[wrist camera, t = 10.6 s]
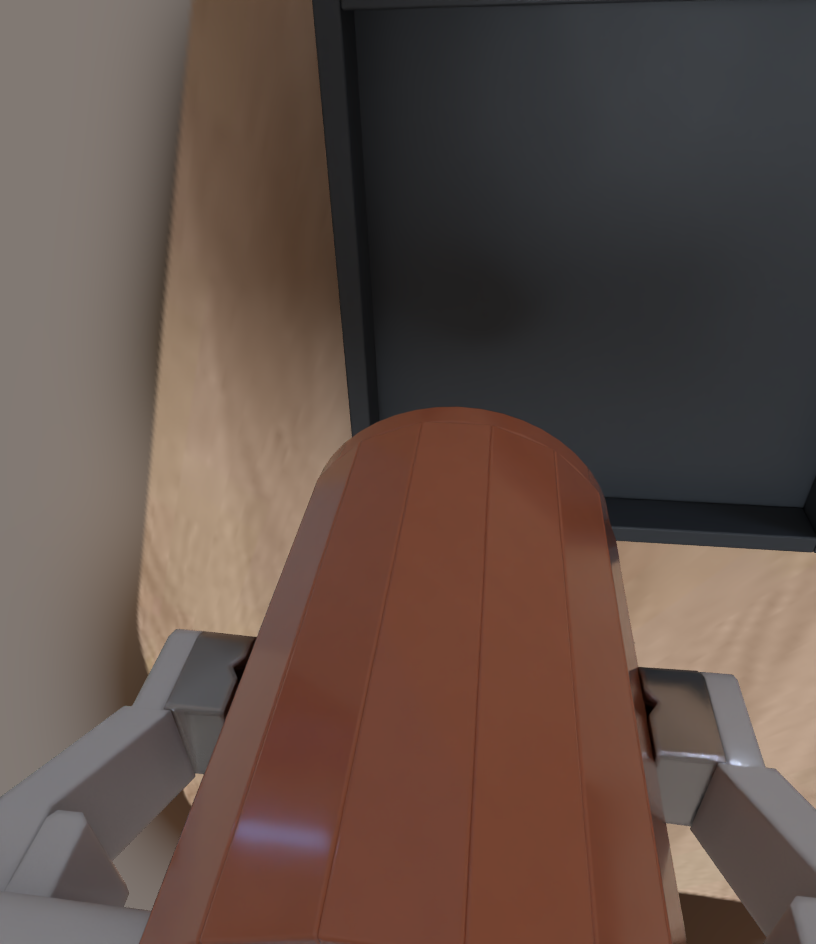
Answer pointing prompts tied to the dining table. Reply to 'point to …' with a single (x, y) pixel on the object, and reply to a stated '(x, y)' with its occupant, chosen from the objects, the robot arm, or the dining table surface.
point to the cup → (435, 716)
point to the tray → (589, 240)
